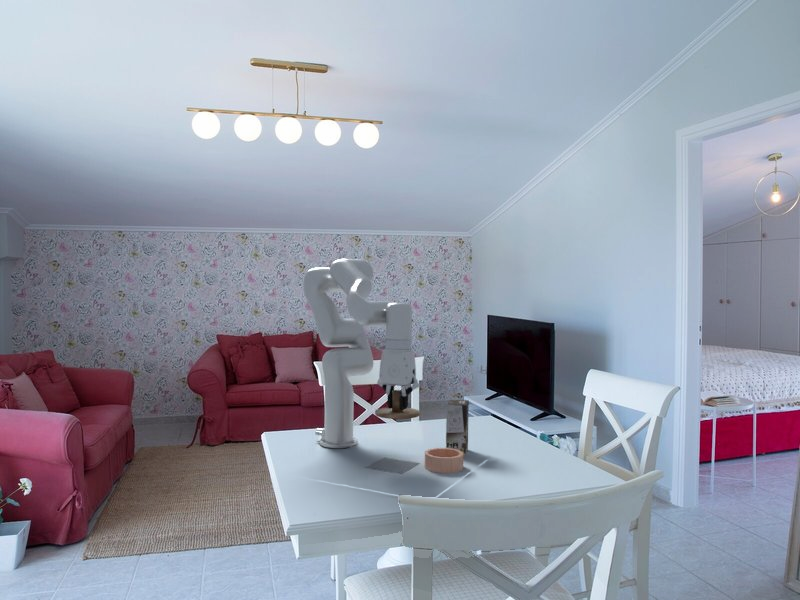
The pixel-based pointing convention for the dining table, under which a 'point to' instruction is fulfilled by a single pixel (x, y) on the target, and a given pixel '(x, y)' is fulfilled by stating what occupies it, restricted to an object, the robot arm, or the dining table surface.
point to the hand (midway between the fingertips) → (397, 407)
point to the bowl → (443, 460)
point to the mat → (392, 465)
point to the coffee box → (457, 425)
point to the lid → (397, 409)
